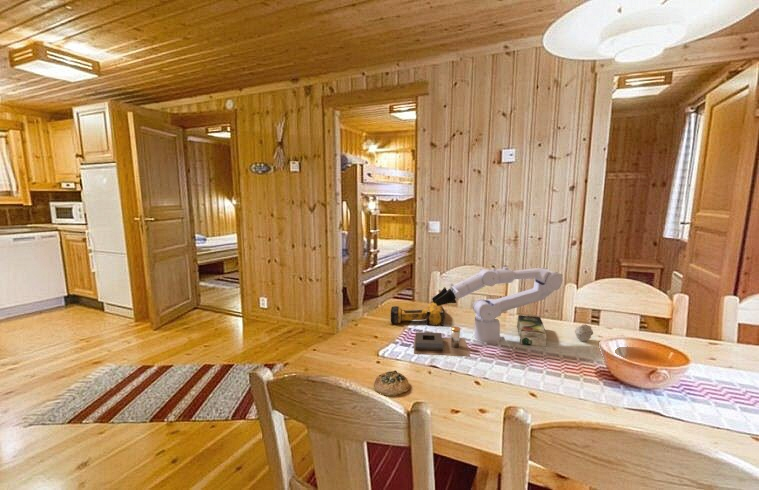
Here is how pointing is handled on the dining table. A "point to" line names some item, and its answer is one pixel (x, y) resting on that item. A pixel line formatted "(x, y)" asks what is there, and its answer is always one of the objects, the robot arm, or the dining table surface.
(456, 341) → the metal peg
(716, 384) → the dining table surface
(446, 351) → the walnut board
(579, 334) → the grey rock
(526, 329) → the juice carton
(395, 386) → the bread roll
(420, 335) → the socket block
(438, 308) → the power drill
